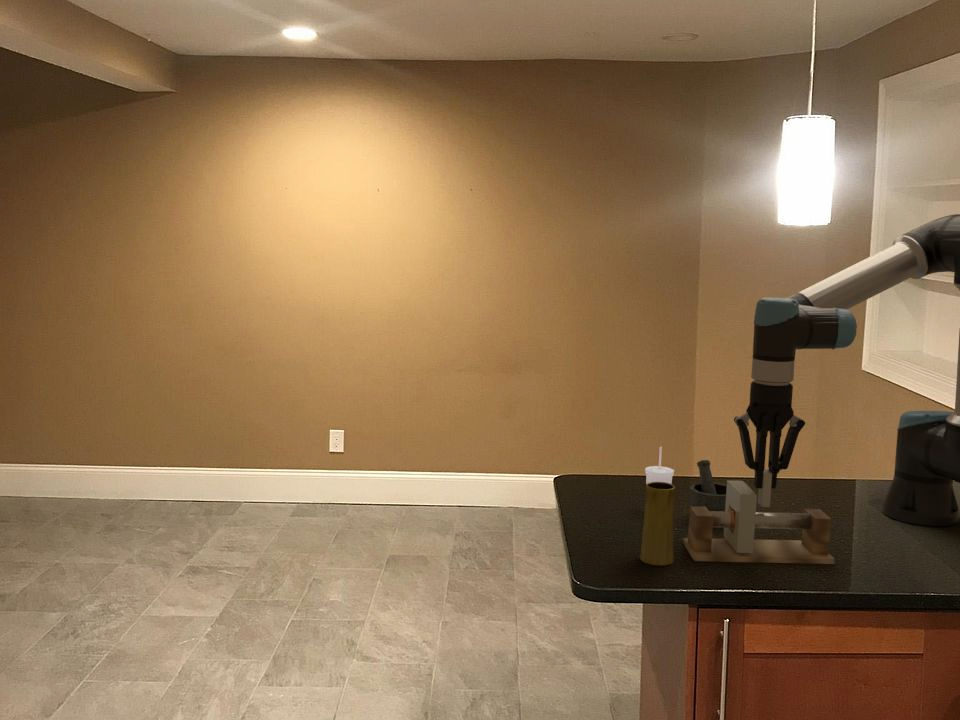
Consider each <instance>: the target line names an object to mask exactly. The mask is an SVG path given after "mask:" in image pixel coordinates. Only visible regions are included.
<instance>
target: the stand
mask: <svg viewBox="0 0 960 720" xmlns="http://www.w3.org/2000/svg"><path fill="white" fill-rule="evenodd" d="M803 513H809V514H810V515H811V518H812V526H811V529H802V530H801V531H802V533H801V540H797V539H796V540H793V539H755V538H754V544H753V553H736V551H735V550H734V549H733V547H732V546H731V545H730V543H729V542H728V541H727V540H726V538H713V529H714V527H713V515H712V514H711V513H710V512H709V510H708V509H707V508H706V507H699V506H692V505H690V506H689V519H688V533H687V537H683V538H682V544H683V546H684V547H685V548H686V550H687V552H688V553H689V555H690V557H691V559H692V560H693V562H718V563H719V562H721V563H722V562H724V563H725V562H727V563H766V564H767V563H768V564H769V563H771V564H773V563H774V564H775V563H776V564H778V563H779V564H807V565H808V564H811V565H812V564H816V565H819V564H820V565H834V564H835V559H836V558H835V557H833V555H831V554H830V553H829V550H830V538H831V526H832V518H831V517H830V516H828V515H827V514H826V513H825V512H824V511H823V510H821V509H820V508H803Z"/></svg>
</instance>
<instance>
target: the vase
mask: <svg viewBox="0 0 960 720" xmlns="http://www.w3.org/2000/svg"><path fill="white" fill-rule="evenodd" d="M645 486H646V487H645V488H646V489H645V503H644V517H643V527H642V538H641V546H640V547H641V549H640V555H639V559H640V561H641V562H643V563H644V564H648V565H651V566H657V567H659V566H660V567H662V566H663V567H664V566H670V565H672V564H673V563H674V560H675V559H674V517H675V502H676V486H675V484H673V483H671V484H670V483H666V482H650V483H647V485H646V484H645Z"/></svg>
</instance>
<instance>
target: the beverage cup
mask: <svg viewBox="0 0 960 720" xmlns="http://www.w3.org/2000/svg"><path fill="white" fill-rule="evenodd" d="M662 451H663V447H662V446H659V451H658V453H659V454H658V455H659V457H658V465H652V466H651V465H650V466H646V467H645V468H644V472H645V476H646V477H645V478H646V479H645V483H646V484H645V486H646V485H647V483H650V482H666V483H670V484H673V483H672V481H673V476H674V473H675V469H673V468H670V467H669V466H662V453H663V452H662Z"/></svg>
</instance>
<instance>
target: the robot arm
mask: <svg viewBox="0 0 960 720" xmlns="http://www.w3.org/2000/svg"><path fill="white" fill-rule="evenodd" d="M945 272H947V273H953V285H954V286H955V287H956V288H957V289H958V291H960V213H959V214H958V213H957V214H956V213H955V214H949V215H945V216H941V217H940V218H939V217H938V218H937V219H934V220H932V221H928V222H927V223H923V224H922V225H920V226H917V227H916V228H914V229H911V230H910V231H907V232H905V233H903V234H901V235H900V236H898V237H896V238H895V239H894V240H893V243H892V245H890V246H888V247H887V248H884V249H882V250H880V251H878V252H877V253H874V254H872V255H871V256H869V257H866V258H865V259H862V260H860V261H858V262H856V263H855V264H852V265H851V266H848V267H846V268H844V269H842V270H841V271H838V272H836V273H834V274H833V275H831V276H828V277H826V278H825V279H822V280H820V281H818V282H816V283H814V284H813V285H811V286H809V287H807V288H804V289H802V290H800V291H798V292H796V293H794V294H792V295H790V296H788V297H773V296H772V297H771V296H770V297H763V298H760V299H759V300H757V302H756V307H755V310H754V311H755V312H754V319H753V343H752V363H751V379H752V380H753V381H751V382H750V389H749V390H750V391H749V404H748V407H747V408H746V410H745V413H744V414H742V415H740V416H734V418H733V421H734V424H735V425H736V427H737V428H738V432H739V438H740V441H741V448H742V454H743V459H744V460H743V461H744V464H745V465H746V467H747V468H749V469H750V470H753V471H754V478H753V479H754V481H753V485H754V487H755V488H756V489H758V493H757V494H758V495H757V503H758V504H759V506H760V507H761V508H762V507H763V508H770V506H771V497H772V496H771V494H772V490H773V489H774V490H775V489H776V487H777V482H778V474H779V473H780V472H781V471H782V470H787V469H789V465H790V462H791V459H792V456H793V452H794V449H795V447H796V443H797V440H798V438H799V433H800V432H801V431H802V429H803V428H804V426H805V425H806V422H805V421H804V420H803V419H802V418H800V417H798V416H797V415H795V414H794V413H795V412H794V410H793V407H792V404H793V393H794V392H793V390H794V385H793V384H792V382H793V381H794V380H795V379H794V378H795V377H794V376H795V360H796V353H797V352H796V351H797V350H814V349H815V350H817V349H818V350H822V349H823V350H824V349H825V350H829V349H830V350H835V349H844V348H847V347H849V346H851V345H852V344H853V342H854V341H855V339H856V337H857V330H858V329H857V328H858V324H857V320H856V317H855V315H854V313H852V312H851V311H850V310H849V309H852V308H853V307H855V306H857V305H860V304H862V303H863V302H865V301H867V300H869V299H871V298H873V297H875V296H877V295H880V294H881V293H883V292H885V291H887V290H888V289H890V288H893V287H895V286H897V285H900V284H901V283H903V282H905V281H907V280H909V279H913V280H920V279H923V278H924V277H927V276H929V275H932V274H935V273H945ZM957 349H958V351H957V364H956V365H957V367H956V383H955V402H954V411H947V410H946V411H945V410H909V411H905V412H903V413H902V414H901V415H900V417H899V421H898V427H897V432H896V433H897V435H896V447H895V457H894V458H895V461H894V474H893V479H892V481H891V483H890V484H889V488H888V490H887V491H886V493H885V496H884V498H883V501H882V506H881V507H882V508H881V511H882V513H883V514H884V515H885V516H887V517H888V518H889V517H890V518H892V519H894V520H896V521H900V522H903V523H908V524H913V525H919V526H927V527H929V526H930V527H947V526H953V525H955V524H957V523H958V522H959V517H960V510H959V505H958V501H957V497H956V493H955V489H954V482H956V483H959V484H960V329H959V333H958V348H957ZM749 420H750V421H751V422H752V425H754V427H755V434H756V435H755V437H756V438H755V453H754V452H753V447H752V442H751V436H750V432H749V428H748V427H749V425H750V422H749ZM787 424H789V428H788V429H787V432H786V436H785V439H784V442H783V445H782V448H781V438H782V430H783V429H784V428H785V426H786V425H787ZM768 434H769V445H768V446H769V447H768V463H767V469H765V468H766V467H765V466H766V451H767V440H768V439H767V438H768ZM780 448H781V449H780ZM780 450H781V452H780Z"/></svg>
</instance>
